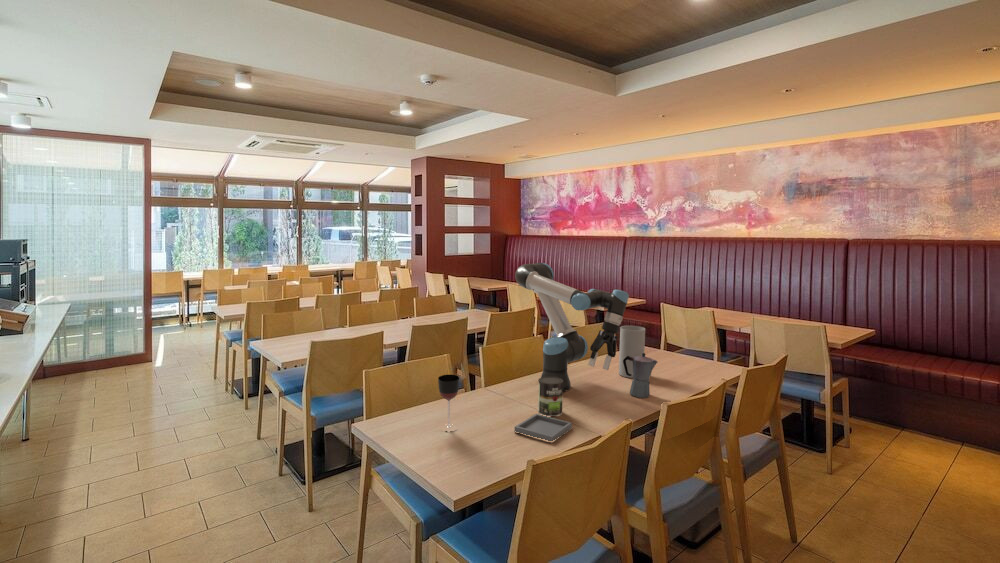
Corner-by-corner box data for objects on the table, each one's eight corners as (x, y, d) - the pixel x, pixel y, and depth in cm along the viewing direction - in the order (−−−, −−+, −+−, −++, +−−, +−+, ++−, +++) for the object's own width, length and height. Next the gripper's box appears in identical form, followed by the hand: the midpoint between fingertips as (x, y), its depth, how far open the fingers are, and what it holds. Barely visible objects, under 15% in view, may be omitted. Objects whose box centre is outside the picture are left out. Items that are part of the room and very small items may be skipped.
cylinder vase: (628, 370, 274) (630, 324, 271) (648, 375, 264) (650, 328, 261) (613, 374, 266) (615, 327, 263) (633, 380, 256) (635, 331, 253)
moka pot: (657, 399, 228) (659, 356, 226) (622, 397, 231) (623, 354, 229) (655, 393, 237) (657, 351, 235) (621, 390, 240) (622, 349, 238)
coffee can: (566, 415, 209) (567, 382, 207) (543, 418, 206) (543, 384, 204) (556, 407, 218) (557, 375, 217) (534, 409, 215) (534, 377, 214)
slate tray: (514, 432, 191) (514, 426, 191) (535, 419, 204) (536, 413, 204) (551, 443, 182) (551, 437, 182) (571, 428, 195) (571, 422, 195)
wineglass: (459, 423, 200) (459, 374, 197) (458, 432, 191) (458, 381, 189) (439, 423, 199) (439, 374, 197) (437, 432, 191) (437, 381, 188)
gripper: (606, 320, 220) (591, 367, 218) (631, 330, 238) (617, 373, 237) (591, 315, 225) (577, 361, 223) (617, 326, 243) (604, 368, 242)
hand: (598, 367), depth 230 cm, fingers open, 13 cm apart
